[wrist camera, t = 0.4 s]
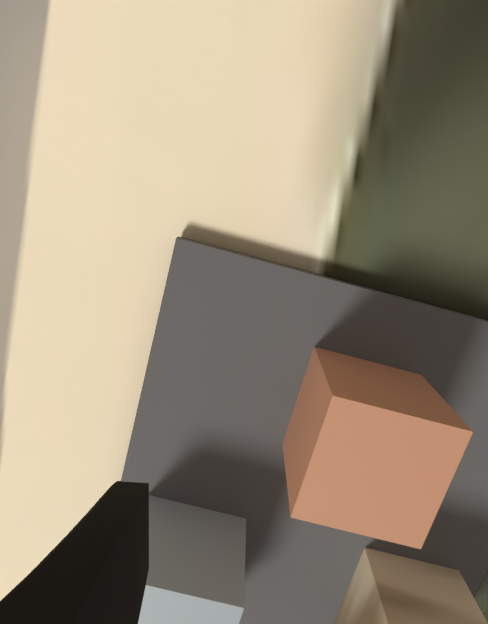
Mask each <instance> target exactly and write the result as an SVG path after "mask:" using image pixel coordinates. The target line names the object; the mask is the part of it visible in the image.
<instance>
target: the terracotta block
mask: <svg viewBox="0 0 488 624" xmlns="http://www.w3.org/2000/svg"><path fill="white" fill-rule="evenodd" d="M472 434H473V431H472V430H471V429H470V428H469V427H468V426H467V424H466V423H465V422H464V421H463V420H462V419H461V418H460V417H459V416H458V415H457V413H456V412H455V411H454V410H453V409H452V408H451V407H450V406H449V405H448V404H447V402H446V401H445V400H444V399H443V398H442V397H441V396H440V395H439V394H438V393H437V391H436V390H435V389H434V388H433V387H432V386H431V385H430V384H429V383H428V382H427V380H426V379H425V378H424V377H423V376H422V375H420V374H416V373H412V372H409V371H405V370H401V369H397V368H393V367H390V366H386V365H382V364H378V363H374V362H371V361H367V360H363V359H359V358H355V357H352V356H348V355H344V354H340V353H336V352H333V351H329V350H325V349H321V348H317V347H314V348H313V351H312V355H311V358H310V361H309V364H308V367H307V370H306V373H305V376H304V379H303V382H302V385H301V388H300V391H299V394H298V398H297V401H296V404H295V407H294V410H293V413H292V416H291V419H290V422H289V425H288V428H287V431H286V434H285V437H284V441H283V444H282V445H283V454H284V463H285V472H286V481H287V490H288V499H289V508H290V517H291V518H295V519H299V520H303V521H307V522H311V523H315V524H319V525H323V526H327V527H331V528H335V529H340V530H344V531H348V532H352V533H356V534H360V535H364V536H368V537H372V538H376V539H380V540H385V541H389V542H393V543H397V544H401V545H405V546H409V547H413V548H417V549H421V548H422V546H423V544H424V541H425V539H426V537H427V535H428V532H429V530H430V528H431V526H432V523H433V521H434V519H435V517H436V514H437V512H438V510H439V508H440V505H441V503H442V501H443V499H444V496H445V494H446V492H447V490H448V487H449V485H450V483H451V481H452V478H453V476H454V474H455V472H456V469H457V467H458V465H459V463H460V460H461V458H462V456H463V454H464V451H465V449H466V447H467V445H468V443H469V440H470V438H471V436H472Z"/></svg>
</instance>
